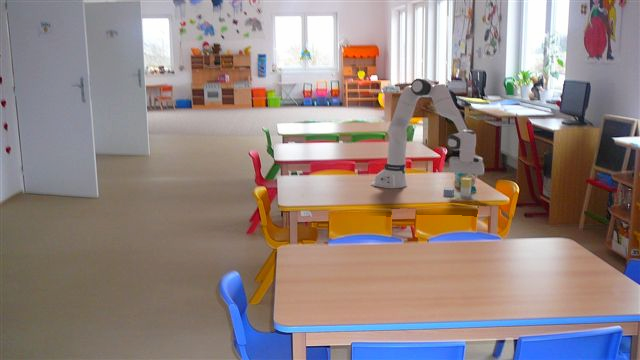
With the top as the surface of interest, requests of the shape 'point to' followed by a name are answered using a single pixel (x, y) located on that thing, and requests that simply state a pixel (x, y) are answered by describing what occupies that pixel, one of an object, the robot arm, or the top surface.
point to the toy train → (462, 175)
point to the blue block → (448, 192)
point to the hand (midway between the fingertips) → (465, 180)
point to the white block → (465, 192)
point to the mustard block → (466, 182)
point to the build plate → (465, 196)
